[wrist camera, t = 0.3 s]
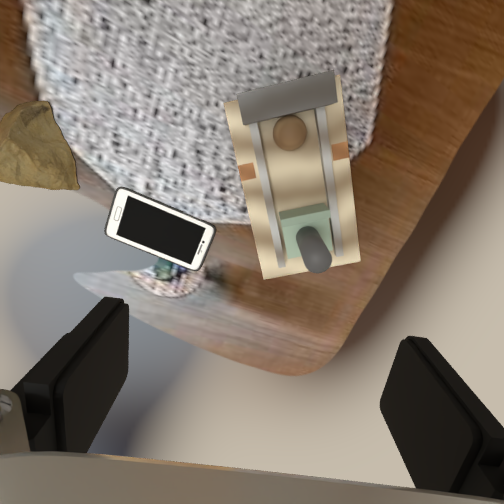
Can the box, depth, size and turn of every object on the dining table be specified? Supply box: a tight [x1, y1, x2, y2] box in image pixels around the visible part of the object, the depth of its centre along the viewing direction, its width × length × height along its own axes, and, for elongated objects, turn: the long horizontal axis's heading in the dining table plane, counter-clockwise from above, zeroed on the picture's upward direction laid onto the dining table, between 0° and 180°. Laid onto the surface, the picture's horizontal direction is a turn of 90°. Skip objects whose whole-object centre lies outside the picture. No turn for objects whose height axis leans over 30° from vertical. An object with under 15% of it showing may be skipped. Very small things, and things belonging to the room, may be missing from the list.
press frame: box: [224, 70, 360, 279], centre depth 40 cm, size 24×14×8 cm, turn 12°
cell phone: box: [104, 187, 216, 271], centre depth 46 cm, size 8×15×1 cm, turn 66°
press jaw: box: [279, 203, 333, 273], centre depth 39 cm, size 6×6×10 cm
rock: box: [0, 101, 80, 190], centre depth 40 cm, size 11×9×10 cm
